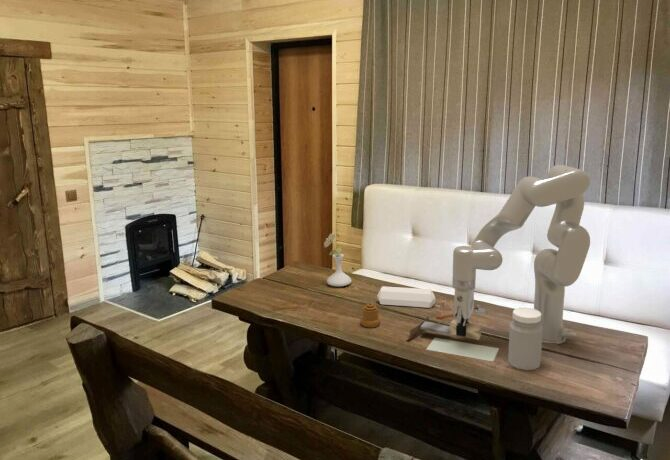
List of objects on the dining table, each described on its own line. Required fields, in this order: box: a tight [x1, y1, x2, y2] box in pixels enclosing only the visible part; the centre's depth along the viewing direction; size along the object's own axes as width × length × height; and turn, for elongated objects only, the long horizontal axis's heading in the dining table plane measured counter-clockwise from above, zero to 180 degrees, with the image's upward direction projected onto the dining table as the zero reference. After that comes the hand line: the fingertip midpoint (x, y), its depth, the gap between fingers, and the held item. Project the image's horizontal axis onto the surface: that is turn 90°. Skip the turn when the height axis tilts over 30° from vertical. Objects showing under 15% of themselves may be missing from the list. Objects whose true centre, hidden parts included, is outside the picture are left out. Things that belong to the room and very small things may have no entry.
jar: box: [507, 306, 543, 371], centre depth 174 cm, size 10×10×18 cm
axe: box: [435, 304, 491, 320], centre depth 216 cm, size 22×6×2 cm, turn 120°
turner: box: [420, 319, 482, 341], centre depth 193 cm, size 20×5×4 cm, turn 64°
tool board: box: [425, 337, 500, 362], centre depth 186 cm, size 22×10×1 cm, turn 63°
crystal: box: [376, 286, 436, 309], centre depth 228 cm, size 7×7×24 cm
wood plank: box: [405, 315, 430, 342], centre depth 199 cm, size 15×2×5 cm, turn 144°
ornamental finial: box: [360, 303, 381, 329], centre depth 209 cm, size 8×8×8 cm
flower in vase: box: [323, 231, 352, 287], centre depth 251 cm, size 13×11×25 cm
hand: (462, 333), depth 191 cm, fingers closed on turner, 2 cm apart
